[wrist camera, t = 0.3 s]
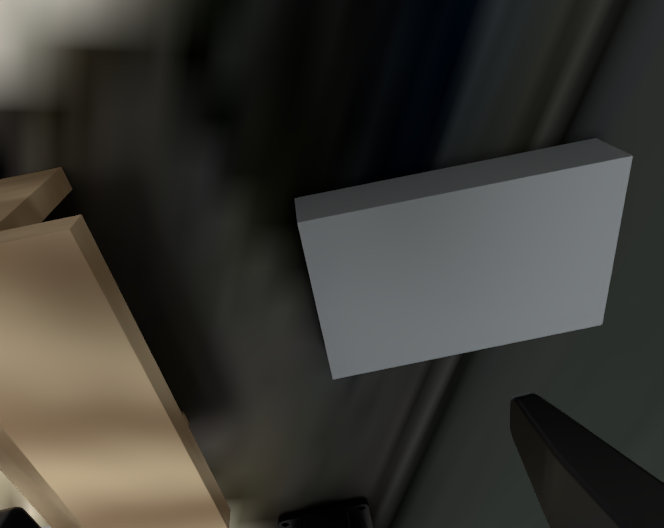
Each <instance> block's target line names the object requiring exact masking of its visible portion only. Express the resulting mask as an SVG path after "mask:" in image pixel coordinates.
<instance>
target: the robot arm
mask: <svg viewBox="0 0 664 528" xmlns="http://www.w3.org/2000/svg"><path fill="white" fill-rule="evenodd" d="M510 429H511V434H512V437H513V440H514V442H515V445H516V447H517V450H518V452H519V454H520V457H521V459H522V462H523V464H524V466H525V469H526V471H527V474H528V476H529V478H530V481H531V483H532V486H533V488H534V491H535V493H536V495H537V498H538V500H539V503H540V505H541V507H542V510H543V512H544V514H545V517H546V519H547V521H548V523H549V525H550V527H551V528H664V483H663V482H661V481H660V480H659V479H657V478H656V477H654V476H653V475H651V474H650V473H649V472H647V471H646V470H644V469H643V468H642V467H640V466H639V465H637V464H636V463H634V462H633V461H632V460H630V459H629V458H627V457H626V456H625V455H623V454H622V453H620V452H619V451H617V450H616V449H615V448H613V447H612V446H610V445H609V444H608V443H606V442H605V441H603V440H602V439H600V438H599V437H598V436H596V435H595V434H593V433H592V432H590V431H589V430H588V429H586V428H585V427H583V426H582V425H581V424H579V423H578V422H576V421H575V420H573V419H572V418H571V417H569V416H568V415H566V414H565V413H564V412H562V411H561V410H559V409H558V408H556V407H555V406H554V405H552V404H551V403H549V402H548V401H547V400H545V399H544V398H542V397H541V396H539V395H538V394H536V393H526V394H521V395H517V396H514V397H512V399H511V405H510ZM278 526H279V528H374V527H373V523H372V518H371V514H370V510H369V505H368V501H367V500H365V499H358V500H354V501H349V502H344V503H339V504H335V505H330V506H325V507H321V508H316V509H311V510H306V511H302V512H297V513H292V514H288V515H283V516H281V517H279V519H278ZM0 528H41V527H40V526H39V525H38V524H37V523H36V522H35V521H34V519H33V518H32V517H31V516H30V515H29V514H28V513H27V512H26V511H25V510H24V509H23V508H21V507H13V508H8V509H4V510H0Z"/></svg>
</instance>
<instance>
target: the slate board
mask: <svg viewBox="0 0 664 528" xmlns="http://www.w3.org/2000/svg"><path fill="white" fill-rule="evenodd" d="M632 157H633V156H632V155H630V154H628V153H626V152H624V151H622V150H620V149H618V148H615V147H613V146H611V145H609V144H607V143H605V142H603V141H601V140H599V139H597V138H594V139H589V140H584V141H579V142H574V143H569V144H564V145H559V146H554V147H549V148H544V149H539V150H534V151H529V152H524V153H519V154H514V155H509V156H504V157H499V158H494V159H489V160H484V161H479V162H474V163H469V164H464V165H459V166H454V167H449V168H444V169H439V170H434V171H428V172H423V173H418V174H413V175H408V176H403V177H398V178H393V179H388V180H383V181H378V182H373V183H368V184H363V185H358V186H353V187H348V188H343V189H338V190H333V191H328V192H323V193H318V194H313V195H308V196H303V197H298V198H294V199H295V207H296V216H297V224H298V228H299V233H300V237H301V241H302V246H303V250H304V255H305V259H306V263H307V268H308V272H309V277H310V281H311V285H312V290H313V294H314V299H315V303H316V307H317V312H318V316H319V321H320V325H321V329H322V334H323V338H324V343H325V347H326V351H327V356H328V360H329V365H330V369H331V373H332V378H333V379H338V378H343V377H348V376H353V375H357V374H362V373H367V372H372V371H377V370H382V369H387V368H392V367H397V366H402V365H407V364H411V363H416V362H421V361H426V360H431V359H436V358H441V357H446V356H451V355H456V354H461V353H465V352H470V351H475V350H480V349H485V348H490V347H495V346H500V345H505V344H510V343H514V342H519V341H524V340H529V339H534V338H539V337H544V336H549V335H554V334H559V333H564V332H568V331H573V330H578V329H583V328H588V327H593V326H598V325H602V322H603V317H604V311H605V306H606V300H607V295H608V289H609V284H610V278H611V273H612V267H613V262H614V256H615V251H616V245H617V240H618V234H619V229H620V223H621V218H622V212H623V207H624V201H625V196H626V190H627V184H628V179H629V173H630V168H631V162H632Z"/></svg>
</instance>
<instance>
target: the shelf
mask: <svg viewBox="0 0 664 528" xmlns="http://www.w3.org/2000/svg"><path fill="white" fill-rule="evenodd" d="M71 190H72V187H71V185H70V183H69V181H68V179H67V177H66V175H65V173H64V171H63V169H62V167H58V168H53V169H48V170H43V171H38V172H33V173H29V174H24V175H19V176H14V177H9V178H4V179H0V470H1V471H2V472H3V473H4V474H5V476H6V477H7V478H8V479H9V480H10V481H11V482H12V483H13V485H14V486H15V487H16V488H17V489H18V490H19V491H20V492H21V493H22V495H23V496H24V497H25V498H26V499H27V500H28V501H29V502H30V504H31V505H32V506H33V507H34V508H35V509H36V510H37V511H38V513H39V514H40V515H41V516H42V517H43V518H44V519H45V520H46V522H47V523H48V524H49V525H50V526H51V527H52V528H229V521H230V508H229V506H228V504H227V502H226V500H225V498H224V496H223V494H222V492H221V490H220V488H219V486H218V485H217V483H216V481H215V479H214V477H213V475H212V473H211V471H210V469H209V467H208V465H207V463H206V461H205V459H204V457H203V455H202V453H201V451H200V449H199V447H198V445H197V443H196V441H195V439H194V437H193V435H192V433H191V431H190V429H189V427H188V426H189V422H188V420H187V418H186V416H185V414H184V412H183V411H182V412H181V411H180V409H179V407H178V405H177V403H176V401H175V399H174V397H173V395H172V393H171V391H170V389H169V387H168V385H167V383H166V381H165V379H164V377H163V375H162V373H161V371H160V369H159V367H158V365H157V363H156V361H155V359H154V358H153V356H152V354H151V352H150V350H149V348H148V346H147V344H146V342H145V340H144V338H143V336H142V334H141V332H140V330H139V328H138V326H137V324H136V322H135V320H134V318H133V316H132V314H131V312H130V310H129V308H128V306H127V304H126V302H125V300H124V298H123V296H122V294H121V292H120V290H119V288H118V286H117V284H116V282H115V280H114V278H113V276H112V274H111V272H110V270H109V268H108V266H107V264H106V262H105V260H104V258H103V256H102V254H101V252H100V250H99V248H98V246H97V244H96V242H95V240H94V238H93V236H92V234H91V232H90V231H89V229H88V227H87V225H86V223H85V221H84V219H83V217H82V215H76V216H72V217H67V218H62V219H57V220H52V221H47V222H42V221H43V220H44V219H45V218H46V217H47V216H48V215H49V214H50V213H51V212H52V210H53V209H54V208H55V207H56V206H57V205H58V204H59V203H60V202H61V201H62V200H63V199H64V198H65V197H66V196H67V194H68V193H69V192H70V191H71ZM41 222H42V223H41Z"/></svg>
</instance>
